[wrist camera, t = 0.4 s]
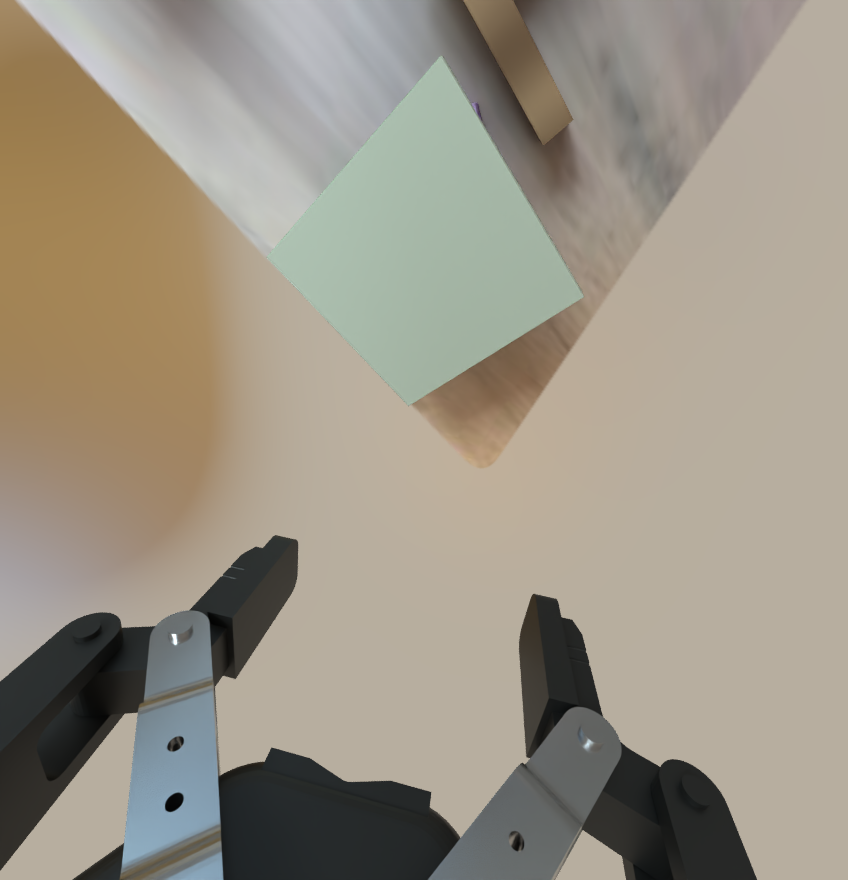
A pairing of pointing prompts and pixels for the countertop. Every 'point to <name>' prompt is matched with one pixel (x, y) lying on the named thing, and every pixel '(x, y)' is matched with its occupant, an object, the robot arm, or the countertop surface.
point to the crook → (521, 65)
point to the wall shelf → (427, 245)
